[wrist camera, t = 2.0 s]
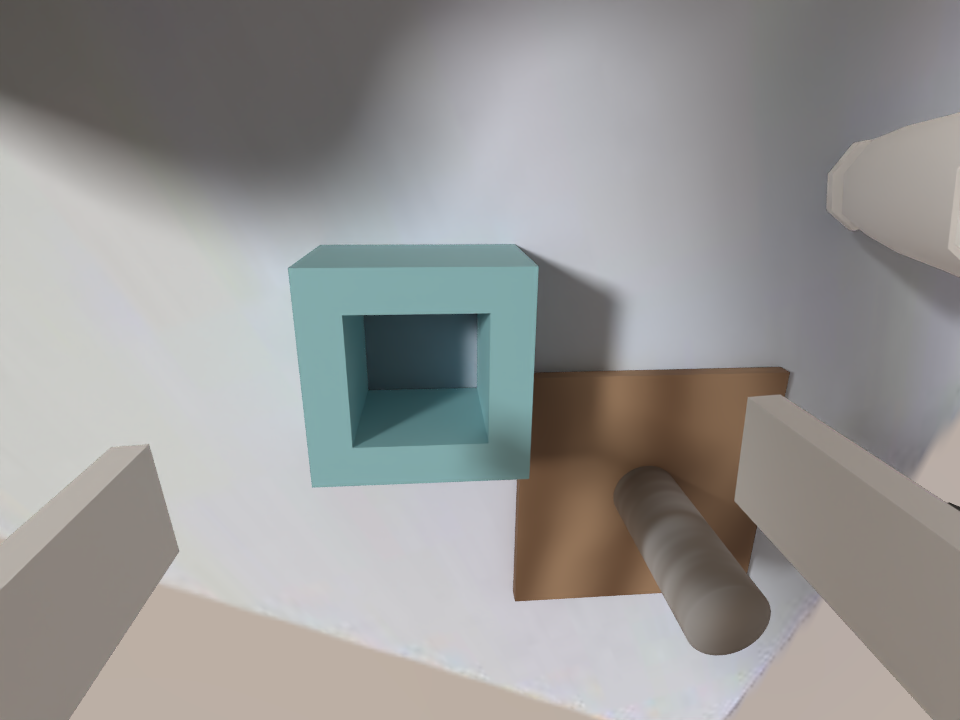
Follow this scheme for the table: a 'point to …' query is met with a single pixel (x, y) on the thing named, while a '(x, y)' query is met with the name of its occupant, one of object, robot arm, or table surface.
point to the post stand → (644, 495)
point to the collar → (415, 412)
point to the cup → (904, 191)
